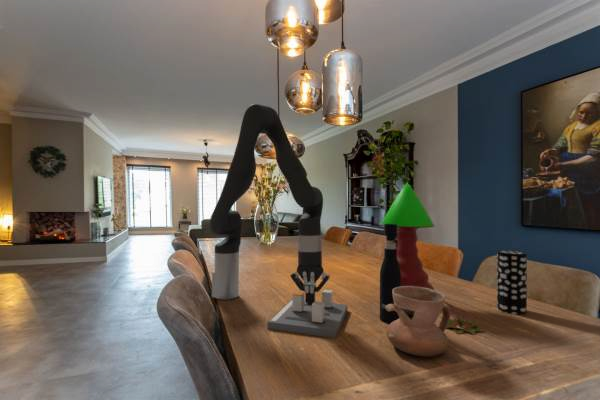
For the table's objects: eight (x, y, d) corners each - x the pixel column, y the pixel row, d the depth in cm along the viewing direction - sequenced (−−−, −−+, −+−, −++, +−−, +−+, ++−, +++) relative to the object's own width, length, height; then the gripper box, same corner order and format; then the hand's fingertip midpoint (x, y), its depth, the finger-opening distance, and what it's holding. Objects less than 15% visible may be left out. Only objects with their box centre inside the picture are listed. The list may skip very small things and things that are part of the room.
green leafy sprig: (464, 319, 96) (464, 305, 96) (494, 336, 85) (494, 319, 85) (430, 321, 94) (430, 307, 94) (456, 338, 83) (456, 322, 83)
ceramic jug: (399, 366, 67) (401, 303, 68) (372, 337, 82) (374, 284, 82) (470, 361, 71) (472, 300, 71) (432, 334, 85) (434, 283, 85)
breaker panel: (267, 328, 87) (267, 321, 87) (291, 304, 108) (291, 298, 108) (335, 338, 81) (335, 330, 81) (347, 310, 102) (347, 304, 102)
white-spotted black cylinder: (523, 308, 106) (523, 251, 106) (529, 316, 98) (529, 255, 99) (495, 304, 109) (495, 249, 110) (499, 312, 102) (499, 253, 102)
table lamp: (370, 297, 118) (370, 182, 118) (397, 288, 131) (398, 184, 131) (418, 310, 103) (418, 179, 103) (443, 299, 116) (444, 182, 116)
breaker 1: (311, 321, 86) (312, 304, 87) (314, 317, 89) (314, 301, 89) (322, 322, 86) (322, 305, 86) (324, 318, 88) (324, 302, 89)
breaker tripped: (292, 310, 95) (292, 294, 95) (295, 307, 98) (295, 291, 98) (301, 311, 94) (301, 294, 94) (304, 308, 97) (304, 292, 97)
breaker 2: (321, 306, 99) (322, 291, 99) (323, 303, 102) (323, 289, 102) (330, 307, 98) (331, 292, 98) (332, 304, 101) (332, 290, 101)
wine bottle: (401, 317, 97) (401, 223, 97) (400, 325, 90) (401, 225, 91) (380, 315, 99) (380, 223, 99) (378, 322, 93) (379, 224, 93)
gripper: (286, 250, 94) (286, 306, 93) (328, 251, 90) (328, 310, 90) (293, 247, 101) (294, 299, 101) (332, 248, 97) (333, 302, 97)
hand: (310, 304), depth 95 cm, fingers closed
